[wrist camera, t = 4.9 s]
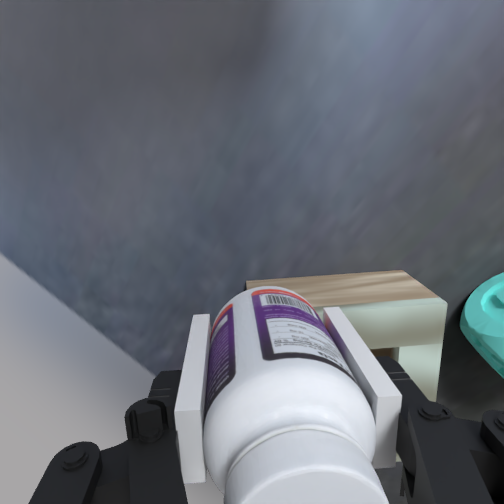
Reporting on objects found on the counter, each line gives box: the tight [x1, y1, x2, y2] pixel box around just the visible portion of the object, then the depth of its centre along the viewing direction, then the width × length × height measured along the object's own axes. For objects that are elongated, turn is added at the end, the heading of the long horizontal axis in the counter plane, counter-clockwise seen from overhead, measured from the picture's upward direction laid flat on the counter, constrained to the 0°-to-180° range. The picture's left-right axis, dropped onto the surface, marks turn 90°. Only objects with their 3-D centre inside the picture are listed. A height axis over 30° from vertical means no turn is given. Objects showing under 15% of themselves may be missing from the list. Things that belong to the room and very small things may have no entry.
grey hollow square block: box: [246, 270, 447, 462], centre depth 31 cm, size 14×14×7 cm
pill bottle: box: [203, 286, 389, 504], centre depth 13 cm, size 5×5×10 cm
